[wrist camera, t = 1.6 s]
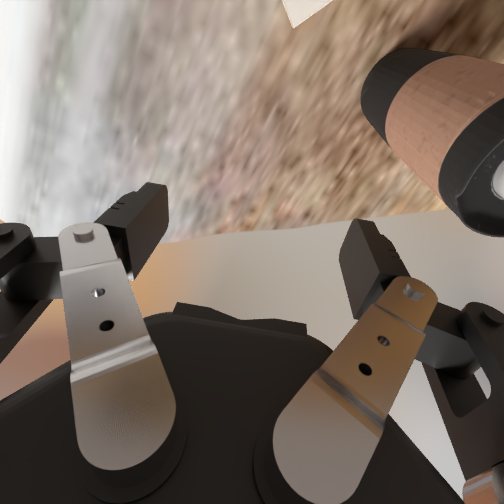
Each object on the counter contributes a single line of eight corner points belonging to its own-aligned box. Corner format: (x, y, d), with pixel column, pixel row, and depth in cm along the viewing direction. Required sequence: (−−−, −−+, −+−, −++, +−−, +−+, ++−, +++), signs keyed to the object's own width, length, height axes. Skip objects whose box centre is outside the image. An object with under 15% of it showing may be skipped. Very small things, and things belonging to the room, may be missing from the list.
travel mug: (453, 53, 26) (709, 108, 11) (410, 134, 31) (548, 248, 16) (377, 36, 26) (543, 71, 11) (346, 122, 31) (428, 229, 16)
